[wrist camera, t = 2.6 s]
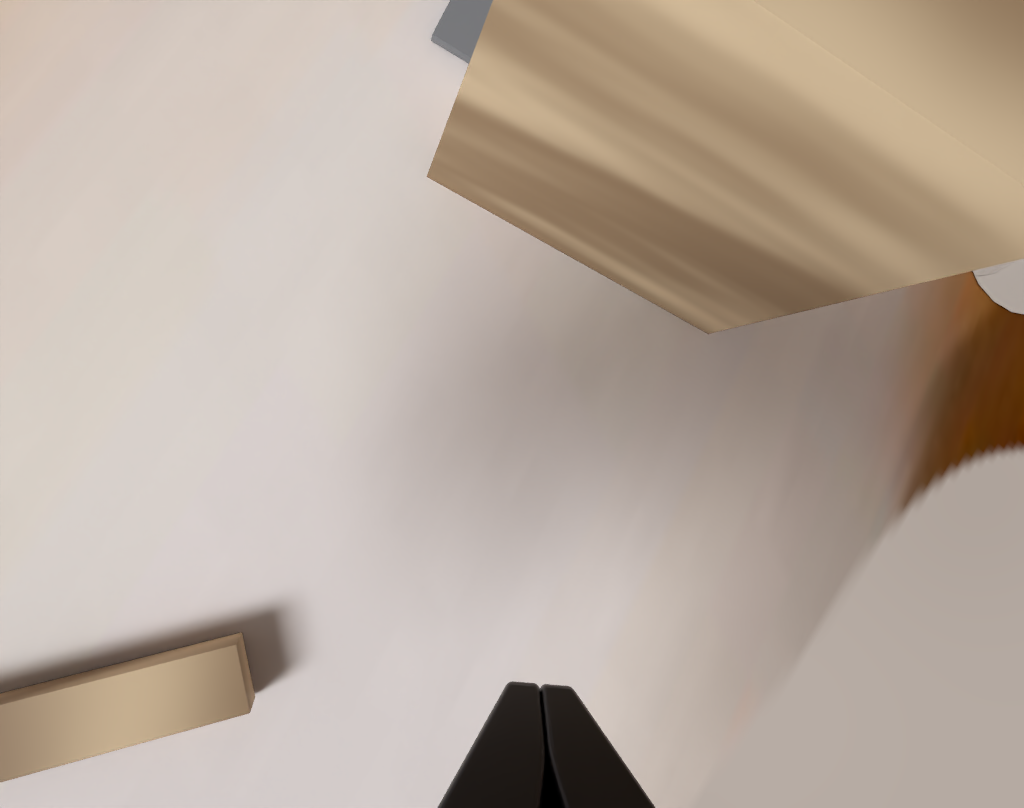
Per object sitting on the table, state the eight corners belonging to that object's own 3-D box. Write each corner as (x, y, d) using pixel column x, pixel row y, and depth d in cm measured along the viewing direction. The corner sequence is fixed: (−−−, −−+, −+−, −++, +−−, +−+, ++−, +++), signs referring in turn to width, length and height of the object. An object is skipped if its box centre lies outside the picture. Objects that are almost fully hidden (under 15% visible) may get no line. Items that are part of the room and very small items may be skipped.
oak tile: (707, 334, 21) (1102, 239, 10) (426, 176, 19) (546, -142, 8) (743, 252, 21) (1161, 78, 10) (470, 90, 19) (639, -322, 9)
